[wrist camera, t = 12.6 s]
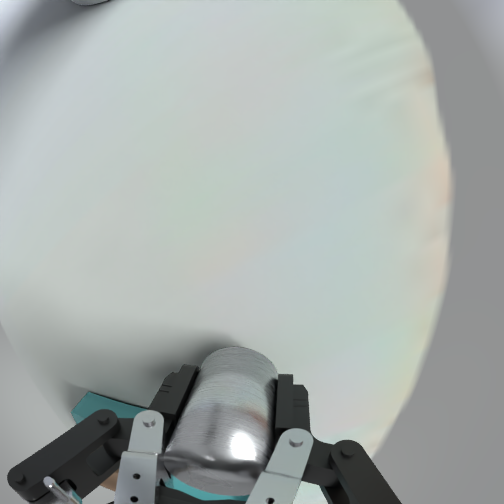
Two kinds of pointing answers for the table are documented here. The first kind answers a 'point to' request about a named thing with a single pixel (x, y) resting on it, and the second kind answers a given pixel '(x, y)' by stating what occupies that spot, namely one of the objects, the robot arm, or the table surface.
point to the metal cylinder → (226, 424)
